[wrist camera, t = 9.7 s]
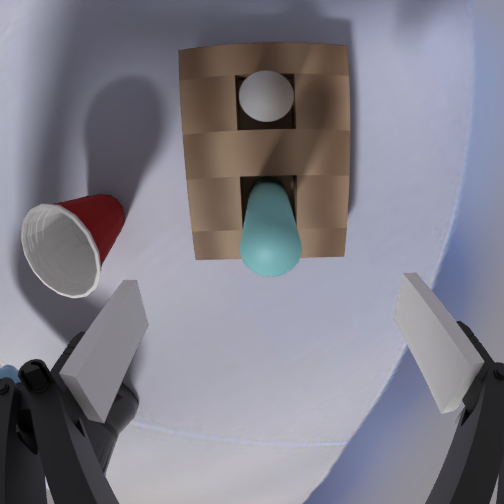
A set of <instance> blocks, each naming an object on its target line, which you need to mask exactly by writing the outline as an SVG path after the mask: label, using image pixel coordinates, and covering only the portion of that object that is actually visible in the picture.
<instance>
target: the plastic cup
mask: <svg viewBox="0 0 504 504" xmlns="http://www.w3.org/2000/svg"><path fill="white" fill-rule="evenodd" d="M123 224H124V212H123V209H122V206H121V205H120V203H119V202H118V201H117V200H116V199H115V198H113V197H112V196H110V195H103V194H98V195H94V196H86V197H82V198H78V199H74V200H70V201H66V202H60V203H57V204H56V203H54V204H46V203H43V204H40V205H38V206H36V207H34V208H32V209H30V210H29V211H28V213H27V214H26V216H25V218H24V220H23V221H22V228H21V242H22V246H23V251H24V255H25V257H26V259H27V261H28V263H29V265H30V267H31V268H32V270H33V272H34V273H35V274H36V275H37V276H38V278H39V279H40V280H41V281H42V282H43V283H44V284H45V285H46V286H47V287H49V288H50V289H52V290H53V291H55V292H56V293H58V294H60V295H63V296H67V297H70V298H80V297H86V296H88V295H89V294H90V293H91V292H92V291H93V290H94V289H96V287H97V284H98V280H99V277H100V273H101V267H102V264H103V262H104V260H105V258H106V257H107V255H108V253H109V251H110V250H111V248H112V246H113V244H114V243H115V240H116V238H117V236H118V235H119V233H120V232H121V229H122V227H123Z"/></svg>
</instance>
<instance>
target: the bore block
mask: <svg viewBox="0 0 504 504" xmlns="http://www.w3.org/2000/svg"><path fill="white" fill-rule="evenodd" d="M178 52H179V80H180V100H181V117H182V132H183V145H184V158H185V169H186V180H187V190H188V200H189V209H190V218H191V227H192V235H193V243H194V251H195V258H196V260H214V259H242V258H241V255H240V242H241V237H242V231H243V226H244V221H245V215H246V210H247V204H248V199H249V194H250V189H251V186H252V184H253V183H254V182H255V181H256V180H257V179H259V178H261V177H264V176H272V177H275V178H277V179H279V180H280V181H281V182H282V183H283V185H284V187H285V189H286V193H287V196H288V199H289V202H290V206H291V209H292V212H293V216H294V219H295V223H296V226H297V229H298V233H299V236H300V240H301V244H302V252H301V256H300V258H305V257H344V253H345V242H346V230H347V216H348V199H349V176H350V87H349V66H348V50H347V46H343V45H332V44H319V43H295V42H264V43H241V44H227V45H216V46H207V47H198V48H191V49H184V50H178Z"/></svg>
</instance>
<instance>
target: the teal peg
mask: <svg viewBox="0 0 504 504" xmlns="http://www.w3.org/2000/svg"><path fill="white" fill-rule="evenodd" d="M301 252H302V244H301V240H300V236H299V233H298V229H297V226H296V223H295V219H294V216H293V212H292V209H291V206H290V202H289V199H288V196H287V193H286V189H285V187H284V185H283V183H282V182H281V181H280V180H279V179H277V178H275V177H272V176H264V177H261V178H259V179H257V180H256V181H255V182H254V183H253V184H252V186H251V189H250V194H249V199H248V204H247V210H246V215H245V221H244V226H243V231H242V237H241V242H240V255H241V258H242V260H243V262H244V264H245V265H246V266H247V267H248V268H249V269H250V270H251V271H252V272H254V273H256V274H258V275H261V276H266V277H275V276H280V275H283V274H285V273H287V272H289V271H290V270H291V269H293V268H294V267H295V265H296V264H297V263H298V261H299V259H300V256H301Z"/></svg>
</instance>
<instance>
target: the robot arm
mask: <svg viewBox="0 0 504 504" xmlns="http://www.w3.org/2000/svg"><path fill="white" fill-rule="evenodd" d="M393 319H394V321H395V323H396V324H397V326H398V328H399V330H400V332H401V334H402V335H403V337H404V339H405V341H406V343H407V345H408V347H409V348H410V350H411V352H412V354H413V356H414V358H415V360H416V362H417V364H418V366H419V368H420V370H421V372H422V374H423V376H424V378H425V380H426V382H427V384H428V386H429V388H430V390H431V393H432V395H433V397H434V399H435V401H436V403H437V405H438V407H439V410H440V412H441V414H443V413H447V412H450V411H453V410H456V409H457V407H458V406H459V404H460V403H461V401H463V403H464V404H465V407H464V409H463V410H462V412H461V413H460V415H459V416H458V418H457V419H456V421H455V423H457V422H458V421H459V423H458V426H457V429H456V432H455V435H454V438H453V441H452V444H451V446H450V449H449V452H448V454H447V457H446V459H445V462H444V464H443V467H442V469H441V471H440V474H439V476H438V478H437V480H436V483H435V485H434V487H433V489H432V491H431V493H430V495H429V497H428V499H427V501H426V503H425V504H489V503H490V500H491V497H492V494H493V491H494V488H495V484H496V481H497V477H498V474H499V481H498V491H497V501H496V504H504V364H503V363H498V362H497V363H495V362H494V361H493V360H492V358H491V357H490V356H489V354H488V353H487V351H486V350H485V348H484V347H483V346H482V344H481V343H480V342H479V340H478V339H477V338H476V336H474V333H473V332H472V331H471V330H470V328H469V327H468V326H466V325H465V324H464V323H462V322H461V321H457V322H456V321H455V320H454V319H453V317H452V316H451V315H450V313H449V312H448V311H447V310H446V309H445V307H444V306H443V304H442V303H441V302H440V301H439V299H438V298H437V297H436V296H435V295H434V293H433V292H432V291H431V290H430V288H429V287H428V286H427V285H426V284H425V282H424V281H423V280H422V279H421V278H420V277H419V275H418V274H417V273H403V278H402V283H401V287H400V292H399V296H398V301H397V305H396V309H395V313H394V317H393ZM148 325H149V324H148V321H147V317H146V313H145V310H144V306H143V302H142V298H141V294H140V291H139V286H138V282H137V280H123V282H122V283H121V284H120V286H119V287H118V288H117V290H116V291H115V292H114V294H113V295H112V296H111V298H110V299H109V300H108V302H107V303H106V304H105V306H104V307H103V309H102V310H101V311H100V313H99V314H98V316H97V317H96V318H95V320H94V321H93V323H92V324H91V326H90V327H89V329H88V330H87V331H86V332H80V333H79V334H77V335H76V336H75V337H74V338H73V339H72V340H71V341H70V343H69V344H68V346H67V348H66V349H65V350H64V352H63V354H62V355H61V356H60V358H59V359H58V360H57V362H56V363H55V365H54V367H53V368H52V370H51V371H49V369H48V368H47V366H46V364H45V362H43V361H42V360H39V359H34V360H30V361H28V362H26V363H25V364H24V365H23V366H22V367H21V368H20V370H19V371H18V370H17V369H16V368H15V367H14V366H12V365H5V366H3V367H2V368H1V369H0V504H47V497H46V485H45V476H46V479H47V483H48V486H49V489H50V492H51V495H52V497H53V500H54V503H55V504H119V502H118V500H117V499H116V497H115V495H114V493H113V491H112V489H111V487H110V485H109V483H108V481H107V479H106V477H105V476H106V470H107V467H108V464H109V461H110V458H111V455H112V452H113V450H114V447H115V444H116V441H117V438H118V436H119V434H120V433H121V431H122V430H123V429H124V428H125V427H126V426H127V425H128V424H129V422H130V421H131V420H132V419H133V418H134V417H135V414H136V412H137V409H138V402H137V400H136V398H135V396H134V395H133V394H132V392H131V391H130V390H129V389H128V388H127V387H126V386H124V385H123V384H122V381H123V378H124V376H125V374H126V372H127V369H128V367H129V365H130V363H131V361H132V359H133V356H134V354H135V352H136V350H137V348H138V346H139V344H140V341H141V339H142V337H143V335H144V333H145V331H146V329H147V327H148ZM459 419H460V420H459Z"/></svg>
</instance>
